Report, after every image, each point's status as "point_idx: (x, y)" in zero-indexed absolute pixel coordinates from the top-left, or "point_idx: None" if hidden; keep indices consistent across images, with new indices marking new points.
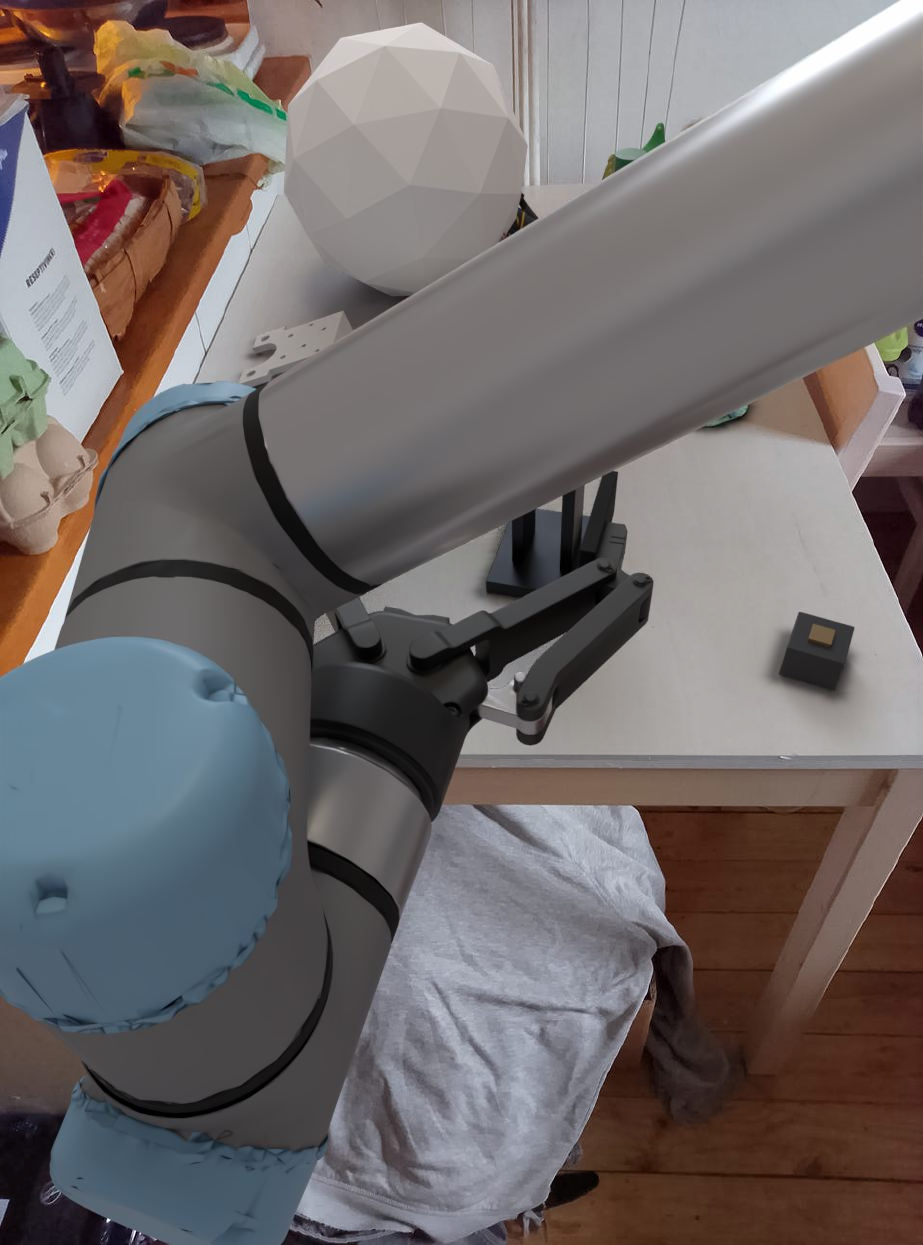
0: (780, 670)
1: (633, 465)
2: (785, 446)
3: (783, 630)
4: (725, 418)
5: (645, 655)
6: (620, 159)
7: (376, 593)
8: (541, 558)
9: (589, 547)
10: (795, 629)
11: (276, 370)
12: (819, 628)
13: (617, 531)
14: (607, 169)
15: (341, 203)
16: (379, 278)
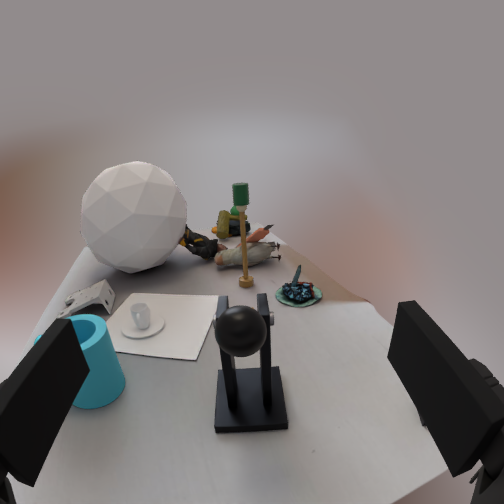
0: (423, 423)
1: (279, 332)
2: (348, 306)
3: (408, 399)
4: (314, 300)
5: (344, 448)
6: (236, 185)
7: (137, 444)
8: (248, 402)
9: (498, 410)
10: None
11: (73, 310)
12: None
13: (477, 370)
14: (219, 216)
15: (102, 227)
16: (122, 262)
